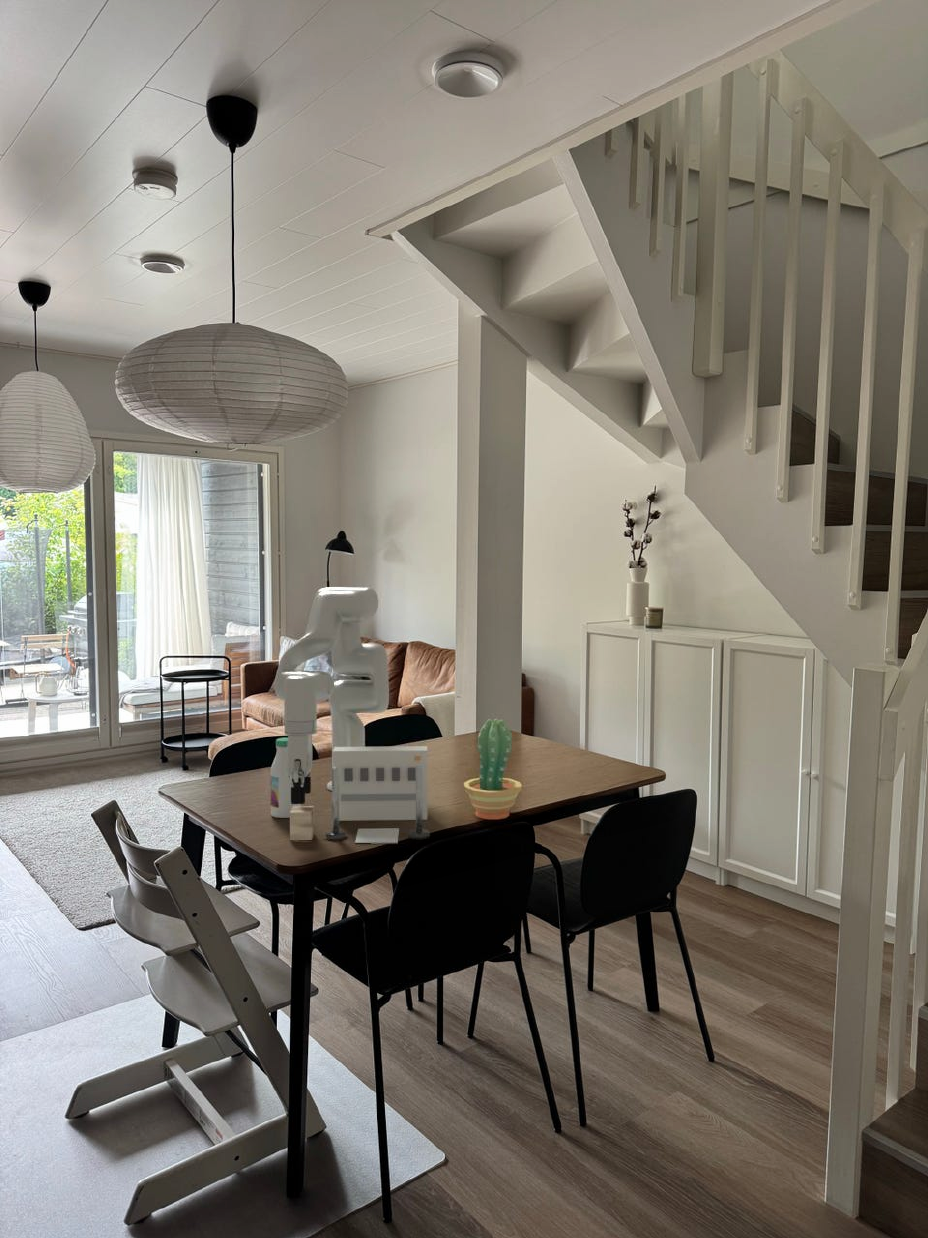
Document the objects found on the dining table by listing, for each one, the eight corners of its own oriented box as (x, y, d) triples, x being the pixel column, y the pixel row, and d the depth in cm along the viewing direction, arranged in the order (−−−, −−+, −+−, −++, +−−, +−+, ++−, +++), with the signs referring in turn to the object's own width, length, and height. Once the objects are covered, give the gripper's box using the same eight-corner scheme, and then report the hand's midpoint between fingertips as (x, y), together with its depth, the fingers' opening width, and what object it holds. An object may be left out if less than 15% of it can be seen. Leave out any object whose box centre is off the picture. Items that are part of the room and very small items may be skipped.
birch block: (293, 834, 209) (293, 806, 208) (314, 834, 209) (313, 806, 208) (290, 841, 204) (289, 812, 203) (311, 841, 204) (310, 812, 203)
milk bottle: (303, 810, 229) (302, 735, 228) (298, 818, 221) (297, 742, 220) (273, 810, 229) (272, 736, 227) (268, 819, 221) (267, 742, 220)
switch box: (335, 815, 225) (334, 746, 223) (427, 813, 226) (427, 746, 224) (333, 821, 219) (332, 752, 218) (427, 820, 220) (427, 751, 219)
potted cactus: (533, 813, 226) (534, 719, 224) (496, 827, 214) (496, 728, 213) (488, 802, 236) (489, 712, 234) (450, 815, 225) (450, 720, 223)
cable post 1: (326, 834, 209) (325, 765, 208) (347, 833, 209) (346, 765, 208) (324, 840, 204) (323, 770, 203) (345, 840, 204) (344, 770, 203)
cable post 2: (409, 833, 210) (408, 764, 209) (429, 832, 210) (429, 764, 209) (408, 839, 205) (408, 769, 204) (429, 839, 205) (429, 769, 204)
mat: (358, 830, 212) (358, 828, 212) (399, 829, 212) (399, 828, 212) (355, 843, 202) (354, 842, 202) (397, 843, 202) (397, 841, 202)
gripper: (290, 721, 213) (291, 789, 214) (278, 733, 196) (278, 808, 196) (321, 721, 213) (321, 789, 214) (311, 733, 196) (312, 808, 197)
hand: (301, 798), depth 205 cm, fingers open, 9 cm apart
